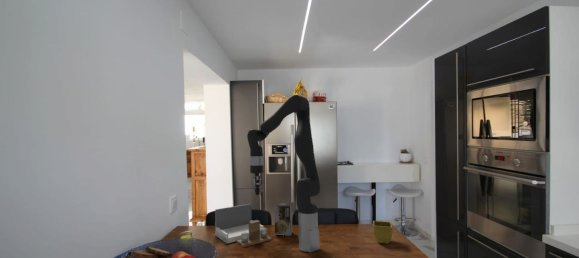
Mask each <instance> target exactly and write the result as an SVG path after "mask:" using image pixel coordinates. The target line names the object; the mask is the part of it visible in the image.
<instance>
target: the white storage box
mask: <svg viewBox="0 0 579 258" xmlns="http://www.w3.org/2000/svg"><path fill="white" fill-rule="evenodd" d="M214 211H215V213H214V214H215V215H214V220H215V221H214V231H215V232H214V236H215V237H217V238H218V239H219V240H221V241H222V242H224V243H225V244H231V243H234V242H237V240H241V233H244V232H247V233H248V238H249V222H250V221H253V220H252V203H248V204H247V203H246V204H241V205H235V206H229V207H223V208H216V209H214ZM261 228H265V227H264V225H262V224H261V223H260V229H261Z"/></svg>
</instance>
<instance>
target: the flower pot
mask: <svg viewBox="0 0 579 258" xmlns="http://www.w3.org/2000/svg"><path fill="white" fill-rule="evenodd" d="M373 231H374V233H373V234H374V237H375V241H376V243H378V244H389V243H390V242H391V241H392V236H393V225H392V222H391V221H381V220H373Z"/></svg>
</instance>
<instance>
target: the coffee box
mask: <svg viewBox="0 0 579 258" xmlns="http://www.w3.org/2000/svg"><path fill="white" fill-rule="evenodd" d="M273 209H274V210H273V211H274V236H275V235H283V236H284V235H285V236H287V237H288V236H292V235H293V233H292V232H293V229H292V227H293V225H292V203H275V204H274V207H273Z"/></svg>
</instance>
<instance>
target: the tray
mask: <svg viewBox="0 0 579 258" xmlns="http://www.w3.org/2000/svg"><path fill="white" fill-rule="evenodd" d="M260 224H261V221H260V220H258V219H255V220H252V221H250V222H249V238H248V233H247V232H244V233H241V240H237V241H236V243H237V244H238V245H240V246H241V247H243V248H245V247H251V246H252V245H253V246H254V245H257V244H261V243H265V242H267V241H271V240H272V239H273V238H272V237H270V236H269V235H268V233H267V231H268V229H267V227H264V228H261V229H260Z"/></svg>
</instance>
